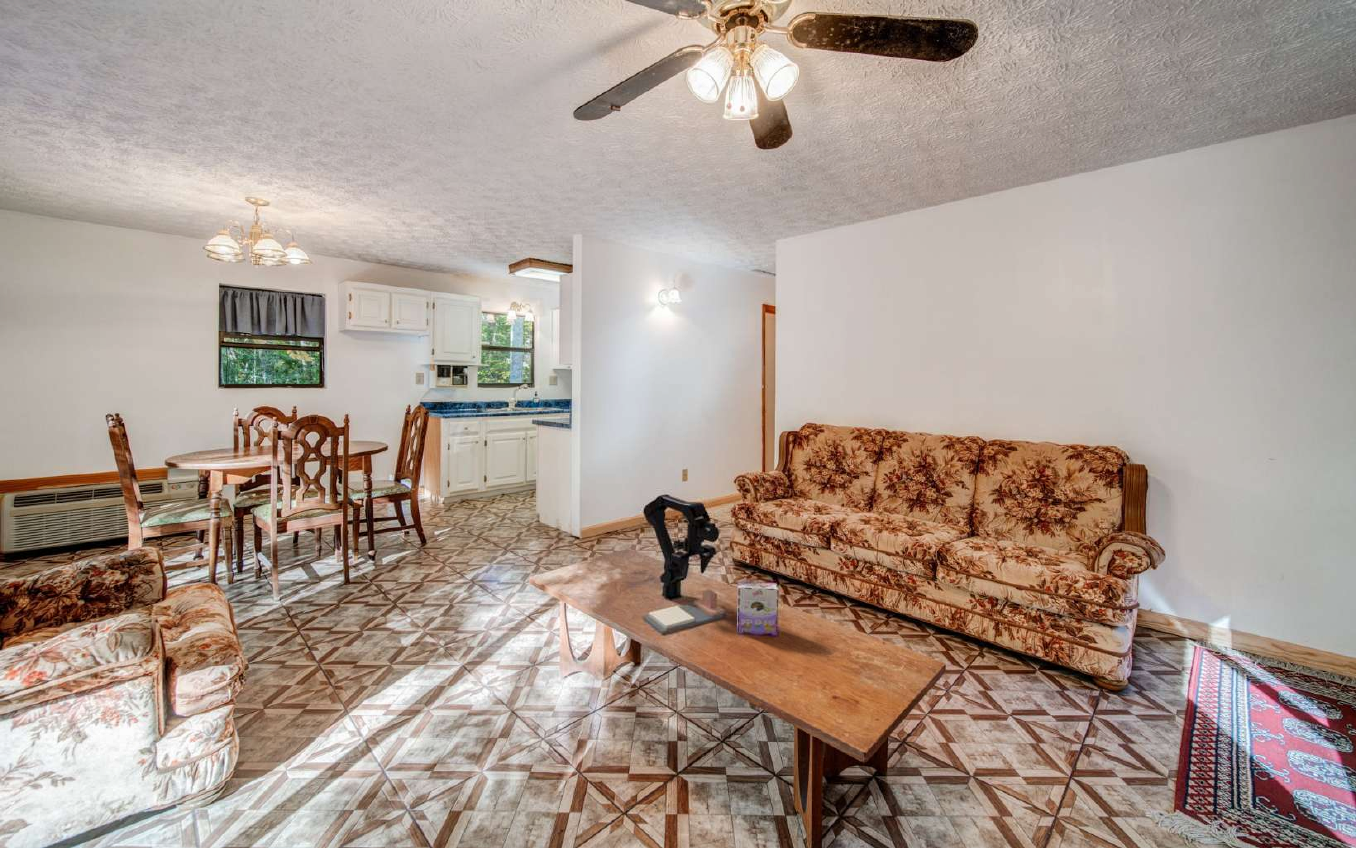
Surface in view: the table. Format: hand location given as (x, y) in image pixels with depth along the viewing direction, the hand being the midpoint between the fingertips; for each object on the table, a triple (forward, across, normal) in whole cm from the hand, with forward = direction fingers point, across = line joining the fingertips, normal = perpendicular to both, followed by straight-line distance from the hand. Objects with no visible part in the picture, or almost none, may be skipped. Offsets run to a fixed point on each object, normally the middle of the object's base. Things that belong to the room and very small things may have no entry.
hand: (693, 575), depth 200 cm
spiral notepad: (+11, +15, +5) cm, 19 cm away
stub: (+11, -1, +7) cm, 13 cm away
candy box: (+12, -3, +29) cm, 31 cm away
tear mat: (+12, +10, +5) cm, 17 cm away
